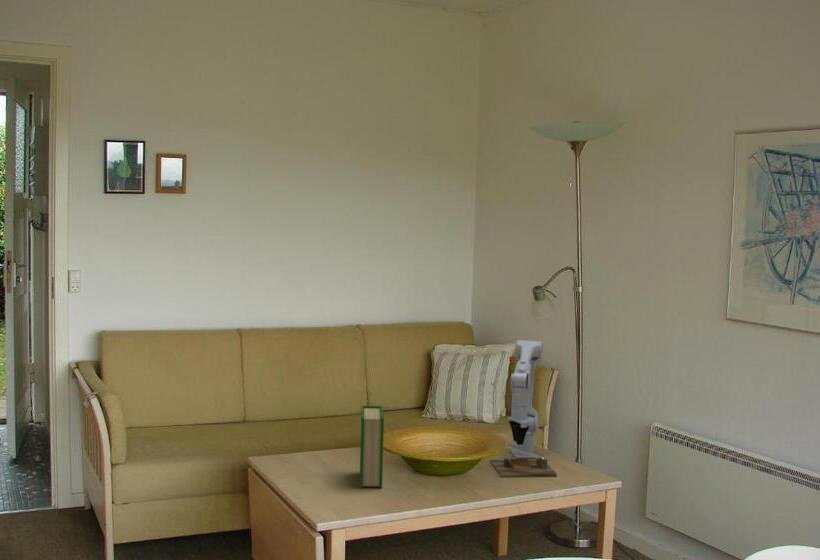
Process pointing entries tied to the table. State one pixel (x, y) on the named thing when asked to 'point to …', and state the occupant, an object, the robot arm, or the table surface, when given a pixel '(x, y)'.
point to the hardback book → (371, 446)
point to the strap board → (523, 468)
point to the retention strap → (524, 452)
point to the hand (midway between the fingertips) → (518, 442)
